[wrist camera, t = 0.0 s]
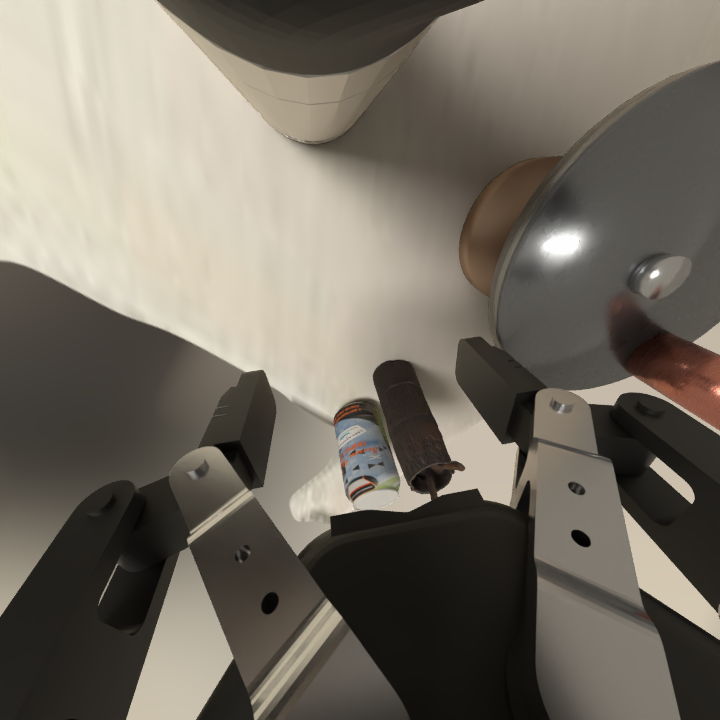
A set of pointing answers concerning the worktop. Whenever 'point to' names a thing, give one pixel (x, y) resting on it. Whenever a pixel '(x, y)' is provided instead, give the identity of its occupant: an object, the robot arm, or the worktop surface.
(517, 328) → the grey disc with knob
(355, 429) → the beverage can
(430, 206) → the worktop surface
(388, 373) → the butter churn
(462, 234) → the wheel stand
